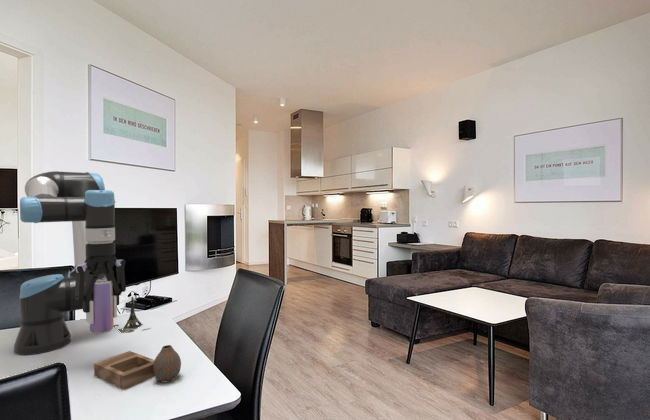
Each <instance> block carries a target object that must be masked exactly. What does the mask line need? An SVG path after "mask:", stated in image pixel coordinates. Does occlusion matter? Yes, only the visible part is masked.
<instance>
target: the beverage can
mask: <svg viewBox="0 0 650 420" xmlns="http://www.w3.org/2000/svg"><path fill="white" fill-rule="evenodd" d="M90 300H91V301H93V313H94V323H93V324H90V323H89V332H90V333H91V334H93V335H102V334H106V333H109V332H111V331H112V330H113V329H114V328H115V327H114V325H115V324H114V317H113V283H112V280H111V281H110V280H107V279H99V280H96V282H95V283H94V287H93V292H92V296H91V299H90Z"/></svg>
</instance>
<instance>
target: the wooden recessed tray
mask: <svg viewBox="0 0 650 420" xmlns="http://www.w3.org/2000/svg"><path fill="white" fill-rule="evenodd" d="M154 361H155V359H153V358H150V357H148V356H145V355H142V354H139V353H137V352H134V351H131V350H129V351H125V352H123V353H120V354H116V355H114V356H110V357H108V358H105V359H102V360H99V361H97V362H94V363H93V373H94V374H93V376H94V377H96V378H99V379H100V380H103V381H104V382H106V383H108V384H111V385H113V386H114V387H118V388H119V389H121V390H126V389H129V388H131V387H134V386H135V385H138V384H140V383H143V382H145V381H147V380H151V379H152V378H156V377H155V375H154V372H153V365H154Z"/></svg>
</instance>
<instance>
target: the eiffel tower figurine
mask: <svg viewBox="0 0 650 420" xmlns="http://www.w3.org/2000/svg"><path fill="white" fill-rule="evenodd" d="M130 298H131V304H130V305H131V306H130V314H129V318H128V320H127V322H126V323H125V325H124V327H122V328H121V329H118V330H119V331H120V332H121V333H120V332H119V331H118V330H117V331H118V332H119V333H120V334H128V333H133V332H135V330H137V329H139V328H140V327H141V326H140V325H142V326H143V325H144V324H143V323H142V322H141V321H140V320H139V318H138V317H137V315H136V312H135V305H134V303H135V302H134V296H131V297H130ZM113 325H114V327H113V328H115V326H117V327H119V326H120V325H119V324H113ZM138 327H139V328H138ZM150 328H151V327H150ZM150 328H149V329H150ZM122 329H123V330H122ZM149 329H148V330H149ZM145 330H147V328H144V329H143V331H145Z"/></svg>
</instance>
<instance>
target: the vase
mask: <svg viewBox="0 0 650 420" xmlns="http://www.w3.org/2000/svg"><path fill="white" fill-rule="evenodd" d="M154 360H155V361H154V365H153V372H154V375H155V377H154V378H155V379H156V380H157V381H159V382H161V383H168V382H172V381H174V380H176V378H177V377H178V375H179V374H180V371H181V367H182V361H181V357H180V355H179V353H178V352H177V350H175V349H174V348H173V346H172V345H171V344H166V345H163V346H162V347H161V349H160V351H159V352H158V353H157V355H156V356H155V359H154Z"/></svg>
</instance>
